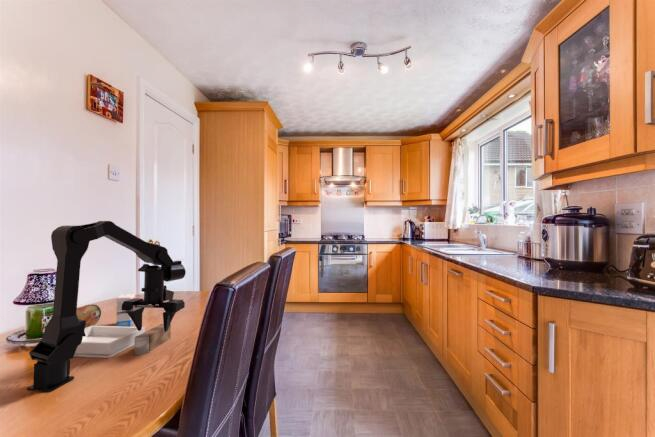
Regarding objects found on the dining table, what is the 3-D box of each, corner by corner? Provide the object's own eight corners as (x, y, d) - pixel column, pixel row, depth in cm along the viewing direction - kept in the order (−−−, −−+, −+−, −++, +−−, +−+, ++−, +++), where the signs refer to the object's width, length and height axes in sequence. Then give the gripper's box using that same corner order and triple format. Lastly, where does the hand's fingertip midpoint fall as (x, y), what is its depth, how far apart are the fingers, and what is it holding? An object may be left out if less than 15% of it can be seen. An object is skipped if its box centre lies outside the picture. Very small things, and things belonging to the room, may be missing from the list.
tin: (63, 335, 111) (63, 312, 111) (56, 334, 111) (56, 311, 112) (101, 323, 125) (102, 302, 126) (95, 322, 126) (95, 301, 126)
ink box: (130, 327, 120) (131, 297, 121) (115, 328, 118) (116, 298, 119) (135, 321, 128) (135, 292, 129) (121, 322, 126) (122, 293, 127)
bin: (109, 357, 92) (109, 344, 92) (47, 355, 93) (48, 342, 94) (144, 338, 108) (145, 327, 108) (91, 336, 109) (92, 325, 110)
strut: (143, 355, 94) (143, 339, 94) (131, 354, 94) (131, 338, 94) (170, 338, 108) (171, 324, 108) (160, 338, 109) (160, 324, 109)
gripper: (193, 280, 109) (192, 324, 109) (143, 279, 111) (142, 322, 110) (175, 286, 98) (174, 335, 98) (120, 284, 100) (119, 333, 99)
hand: (152, 330), depth 102 cm, fingers open, 9 cm apart
